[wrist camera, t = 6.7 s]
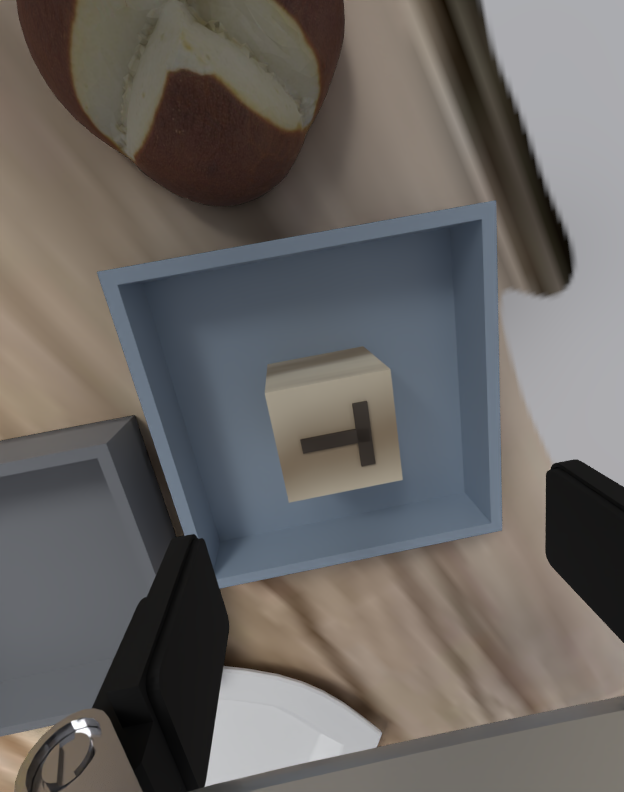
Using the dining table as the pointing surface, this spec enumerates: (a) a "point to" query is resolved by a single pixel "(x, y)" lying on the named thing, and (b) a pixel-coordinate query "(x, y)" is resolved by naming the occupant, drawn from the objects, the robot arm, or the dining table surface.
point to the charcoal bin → (72, 563)
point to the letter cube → (333, 422)
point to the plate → (279, 725)
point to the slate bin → (307, 336)
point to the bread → (192, 83)
